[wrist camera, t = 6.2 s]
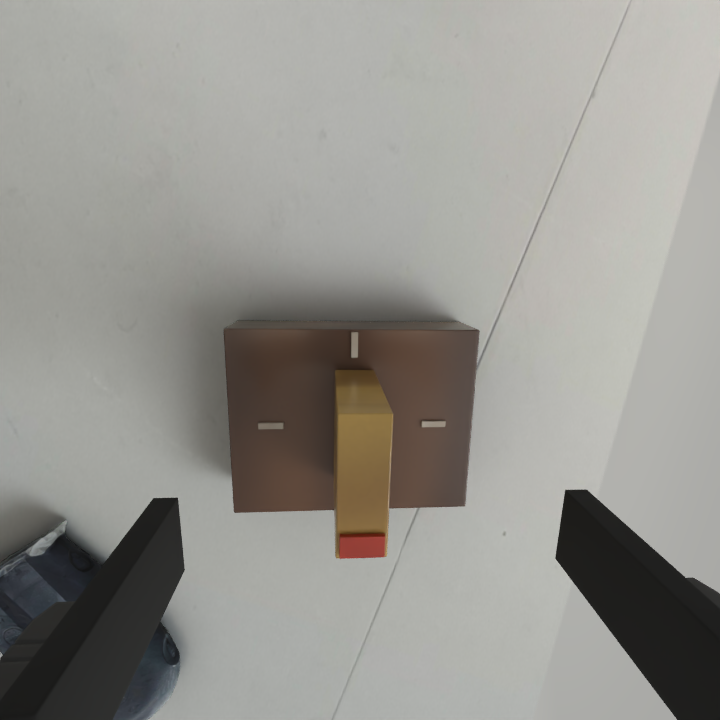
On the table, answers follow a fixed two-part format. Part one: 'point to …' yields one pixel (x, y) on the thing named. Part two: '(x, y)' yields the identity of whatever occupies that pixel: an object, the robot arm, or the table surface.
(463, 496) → the plate
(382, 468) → the thumb turn
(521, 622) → the table surface
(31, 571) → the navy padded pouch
